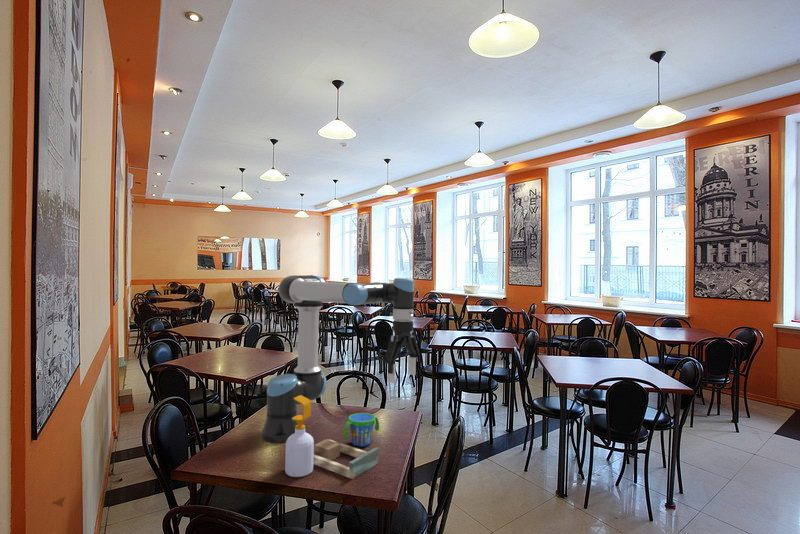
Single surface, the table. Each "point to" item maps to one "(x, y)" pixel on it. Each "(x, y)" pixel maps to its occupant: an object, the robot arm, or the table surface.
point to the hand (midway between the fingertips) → (402, 378)
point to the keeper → (327, 449)
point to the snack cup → (361, 428)
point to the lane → (355, 467)
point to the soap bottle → (300, 444)
